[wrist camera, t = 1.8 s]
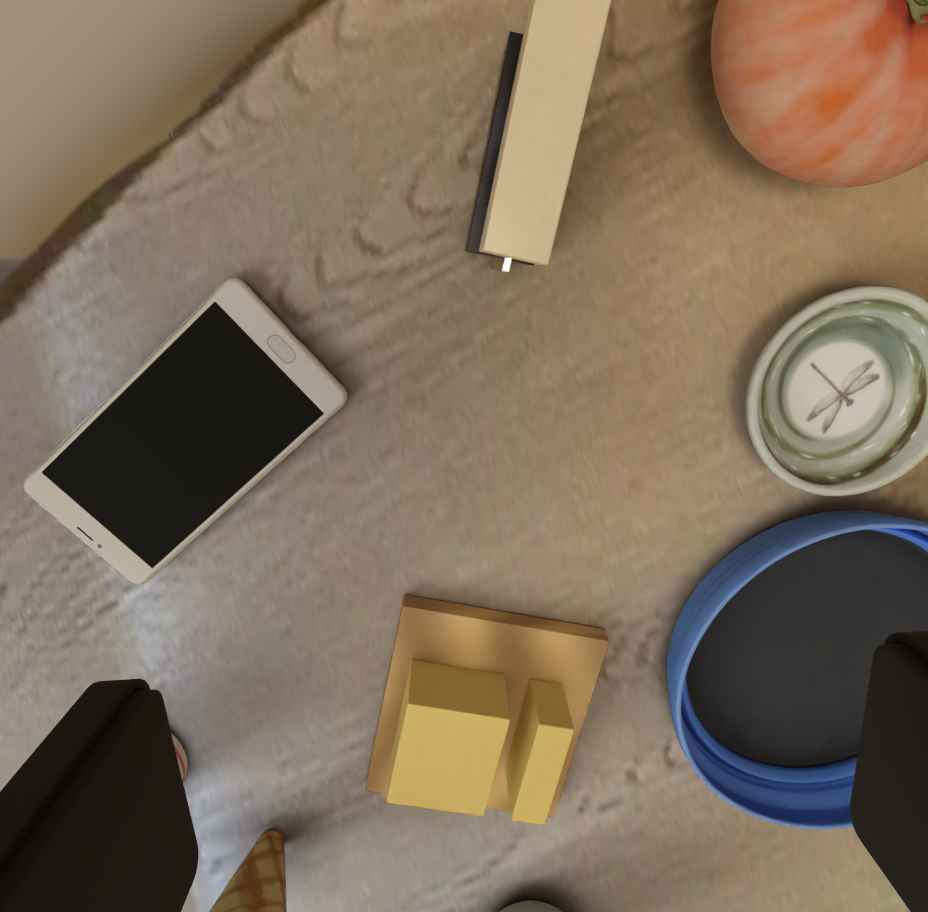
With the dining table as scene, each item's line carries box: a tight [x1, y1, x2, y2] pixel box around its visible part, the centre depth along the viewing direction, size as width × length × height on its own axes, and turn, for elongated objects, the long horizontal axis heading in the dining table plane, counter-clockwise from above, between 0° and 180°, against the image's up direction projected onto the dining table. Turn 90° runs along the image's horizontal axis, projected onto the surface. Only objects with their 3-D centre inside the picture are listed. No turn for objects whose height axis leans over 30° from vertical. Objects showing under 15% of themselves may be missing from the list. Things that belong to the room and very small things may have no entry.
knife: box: [479, 0, 612, 273], centre depth 23 cm, size 2×9×8 cm, turn 168°
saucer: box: [746, 285, 928, 496], centre depth 30 cm, size 10×10×2 cm
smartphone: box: [24, 278, 348, 584], centre depth 30 cm, size 8×1×15 cm
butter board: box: [365, 595, 609, 818], centre depth 35 cm, size 11×12×1 cm
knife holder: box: [465, 32, 534, 265], centre depth 26 cm, size 3×8×2 cm, turn 168°
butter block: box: [386, 660, 510, 816], centre depth 33 cm, size 5×6×4 cm
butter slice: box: [505, 679, 574, 825], centre depth 33 cm, size 2×6×4 cm, turn 168°
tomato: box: [710, 0, 928, 187], centre depth 23 cm, size 11×11×8 cm
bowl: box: [667, 510, 928, 829], centre depth 34 cm, size 18×18×4 cm
